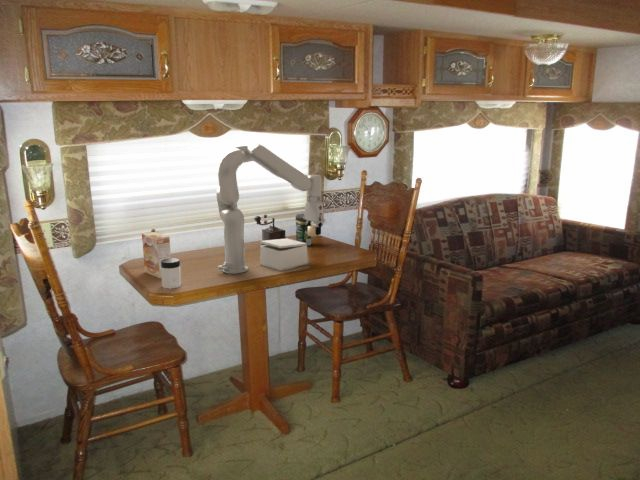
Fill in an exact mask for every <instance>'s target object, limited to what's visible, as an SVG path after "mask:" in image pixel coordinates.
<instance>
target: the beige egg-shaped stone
mask: <svg viewBox="0 0 640 480" xmlns="http://www.w3.org/2000/svg"><path fill="white" fill-rule="evenodd" d="M316 227H317V226H316V224H311V225H310V226H308V236H311V237H320V236H321V234H319V235H316Z"/></svg>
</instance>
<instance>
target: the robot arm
mask: <svg viewBox="0 0 640 480" xmlns="http://www.w3.org/2000/svg"><path fill="white" fill-rule="evenodd" d="M222 156H223V158H222V159H221V160H220V163H219V165H218V168H217V177H218V185H219V186H218V187H217V189H216V201H217V208H218V214H219V217H220V219H221V221H222V223H224V225H223V227H224V229H223V240H224V242H223V243H224V262H223V264H222V265H217V266H216V269H217V270H218V271H219V270H222V272H223V273H226V274H229V275H230V274H231V275H232V274H237V275H238V274H243V273H246V272H247V271H249V267H248V266H247V265H246V262H245V261H246V259H245V257H246V256H245V236H244V235H245V234H244V233H245V232H244V229H245V216H244V213H243V212H242V211H241V209H239V208H238V202H239V199H240V194H239V193H240V192H239V186H238V181H237V171H238V168H240V167H241V166H242V164H245V163H249V162H250V163H251V162H255V163H256V164H258V165H260V167H262V168H264V170H266V171H268V172H269V173H271V174H272V175H273V176H276V177H277V178H281V179H283V180H284V181H286V182H288V183H290V185H291V187H292V188H294V190H295V189H296V190H297V191H301V192H306V201H305V205H304V213H303V214H304V216H303V219H304V221H305V224H306V232H307V233H308V226H310V225H312V222H314V223H315V225H316V226H317V227H316V235H319V234H320V235H321V234H322V227H323V225H324V224H325V222H326V220H325V217H324V216H325V215H324V203H323V202H322V201H323V198H322V184H323V183H322V176H321V175H319V174H304V173H303V172H301V171H300V170H299V169H297V168H295V167H294V166H293V165H291V164H290V163H288V162H287V161H285V160H284V159H282V157H280V156H278V155H277V154H275V153H274V152H272V151H271V150H270V149H268V148H266V146H264V145H262V144H260V143H259V144H258V143H250V144H245V145H237V146H231V147H227V148H226V149H225V150H224V151H223V153H222ZM320 235H319V236H320Z"/></svg>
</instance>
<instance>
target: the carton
mask: <svg viewBox="0 0 640 480" xmlns="http://www.w3.org/2000/svg"><path fill="white" fill-rule="evenodd" d="M259 254H260V255H259V256H260V257H259V258H260V259H259V260H260V262H259V263H260V266H263V267H265V268H269V269H273V270H275V271H279V272H283V271H287V270H291V269H295V268H298V266H299V267H302V266H305V265H308V246H307V245H305V246H296V247H287V248H278V247H274V246H270V245H260V246H259Z"/></svg>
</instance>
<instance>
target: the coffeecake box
mask: <svg viewBox="0 0 640 480" xmlns="http://www.w3.org/2000/svg"><path fill="white" fill-rule="evenodd" d="M141 239H142V240H141V241H142V242H141V243H142V252H143V264H144V273H146V274H147V275H148V274H149V275H151V276H153V277H156V278H157V279H162V277H161V261H162V260H164V259H169V258H172V254H171V253H172V252H171V243H170V242H171V240H170V239H171V237H170V236H169V235H165V234H162V233H159V232H156V231H152V232H145V233H144V232H143V233H142V234H141Z"/></svg>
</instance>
